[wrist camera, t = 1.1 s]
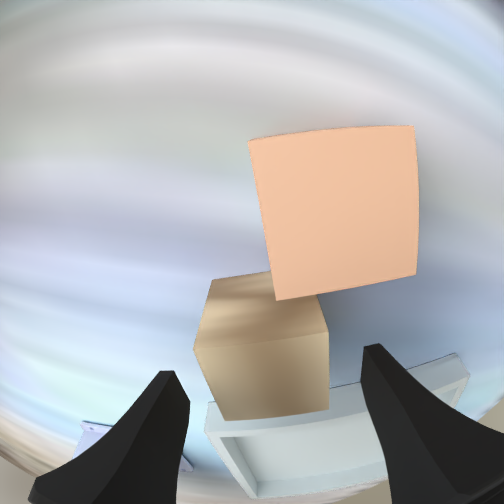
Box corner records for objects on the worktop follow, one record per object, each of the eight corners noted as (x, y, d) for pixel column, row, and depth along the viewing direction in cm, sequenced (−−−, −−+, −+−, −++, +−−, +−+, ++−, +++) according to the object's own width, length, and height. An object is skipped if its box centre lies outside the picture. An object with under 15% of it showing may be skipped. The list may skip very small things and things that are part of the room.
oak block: (232, 348, 15) (224, 421, 11) (212, 279, 14) (192, 349, 9) (313, 337, 15) (329, 409, 10) (306, 264, 13) (328, 331, 9)
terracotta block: (269, 239, 13) (276, 300, 8) (251, 139, 11) (247, 141, 7) (365, 225, 13) (416, 274, 8) (355, 126, 11) (413, 125, 6)
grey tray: (251, 480, 24) (250, 499, 21) (208, 402, 17) (203, 431, 15) (411, 449, 22) (417, 466, 20) (455, 352, 16) (470, 375, 14)
